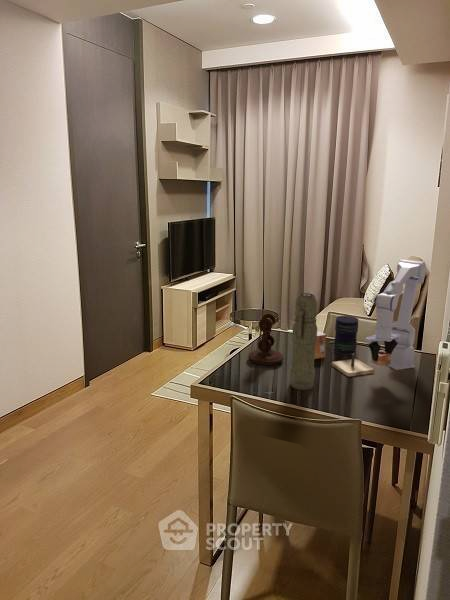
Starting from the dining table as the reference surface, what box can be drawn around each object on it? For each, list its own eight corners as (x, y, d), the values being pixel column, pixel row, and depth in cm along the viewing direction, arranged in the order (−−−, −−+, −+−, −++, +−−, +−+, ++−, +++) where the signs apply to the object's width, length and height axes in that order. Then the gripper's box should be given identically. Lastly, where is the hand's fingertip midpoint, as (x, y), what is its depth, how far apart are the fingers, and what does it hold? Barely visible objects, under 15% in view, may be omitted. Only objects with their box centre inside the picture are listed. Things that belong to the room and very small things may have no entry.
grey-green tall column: (285, 389, 172) (290, 297, 163) (294, 377, 182) (298, 290, 173) (309, 393, 168) (315, 300, 160) (317, 381, 179) (322, 292, 170)
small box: (310, 360, 199) (311, 337, 197) (302, 356, 204) (303, 333, 201) (325, 357, 203) (326, 334, 200) (317, 353, 208) (318, 330, 205)
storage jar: (358, 354, 206) (361, 322, 202) (336, 354, 206) (338, 322, 202) (352, 346, 216) (355, 315, 212) (331, 346, 216) (333, 315, 212)
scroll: (252, 353, 207) (253, 309, 202) (285, 356, 203) (287, 312, 198) (244, 365, 193) (245, 319, 188) (279, 369, 189) (281, 322, 184)
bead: (381, 359, 181) (382, 349, 180) (390, 364, 176) (391, 354, 175) (370, 361, 179) (371, 351, 178) (379, 366, 175) (380, 356, 174)
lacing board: (356, 361, 198) (357, 347, 196) (373, 372, 187) (375, 357, 185) (331, 365, 194) (332, 350, 192) (348, 376, 183) (349, 361, 182)
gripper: (374, 330, 168) (371, 365, 171) (407, 326, 173) (403, 360, 176) (362, 324, 174) (359, 358, 178) (394, 321, 179) (391, 354, 183)
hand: (380, 359), depth 178 cm, fingers closed on bead, 5 cm apart
